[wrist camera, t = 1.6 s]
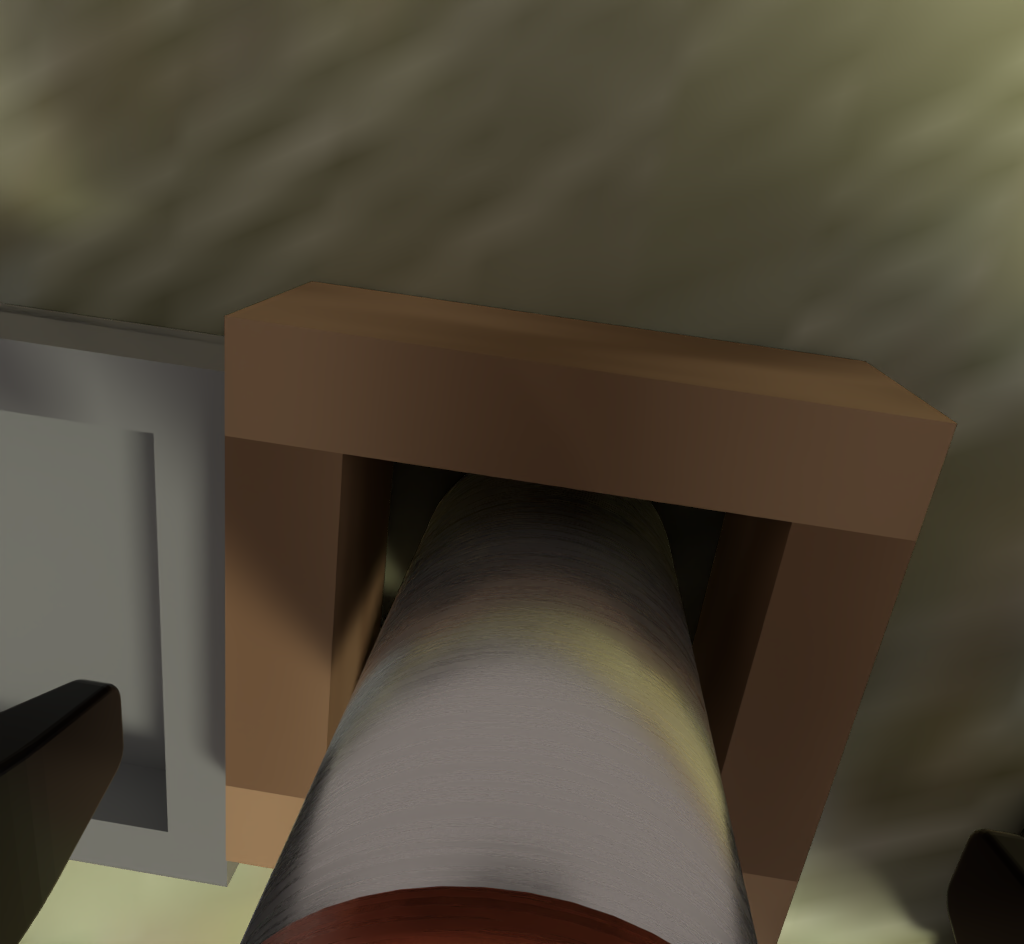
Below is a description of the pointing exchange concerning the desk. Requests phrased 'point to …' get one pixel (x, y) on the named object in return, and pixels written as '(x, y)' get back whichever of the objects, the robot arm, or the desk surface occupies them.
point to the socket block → (577, 465)
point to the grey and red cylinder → (520, 747)
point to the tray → (122, 565)
